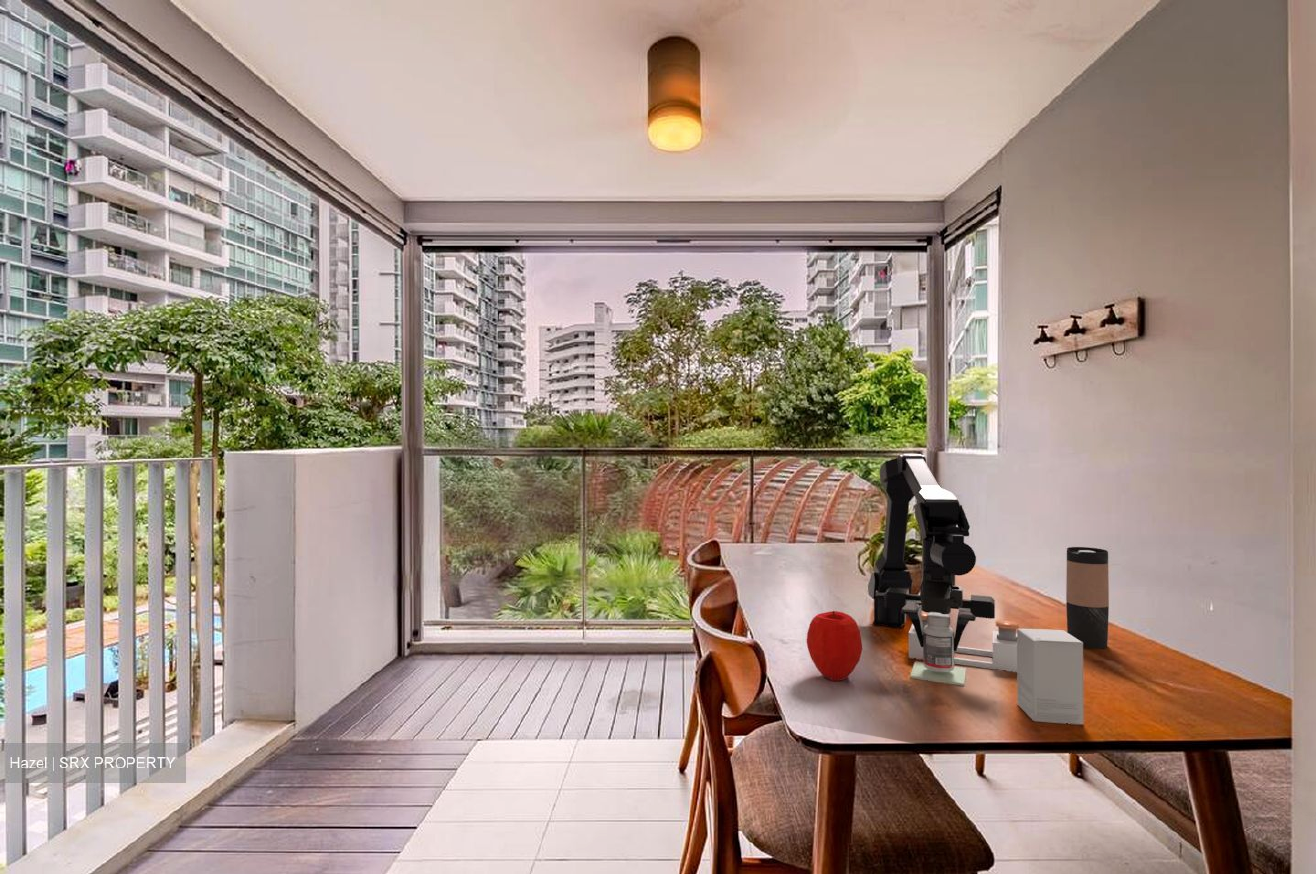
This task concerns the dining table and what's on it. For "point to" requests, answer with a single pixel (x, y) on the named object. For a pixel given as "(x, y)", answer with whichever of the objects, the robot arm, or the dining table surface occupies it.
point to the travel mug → (1087, 596)
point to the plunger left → (924, 619)
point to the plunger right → (1007, 630)
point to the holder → (976, 653)
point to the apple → (834, 644)
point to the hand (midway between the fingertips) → (938, 648)
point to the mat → (939, 674)
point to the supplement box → (1050, 675)
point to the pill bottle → (938, 643)
